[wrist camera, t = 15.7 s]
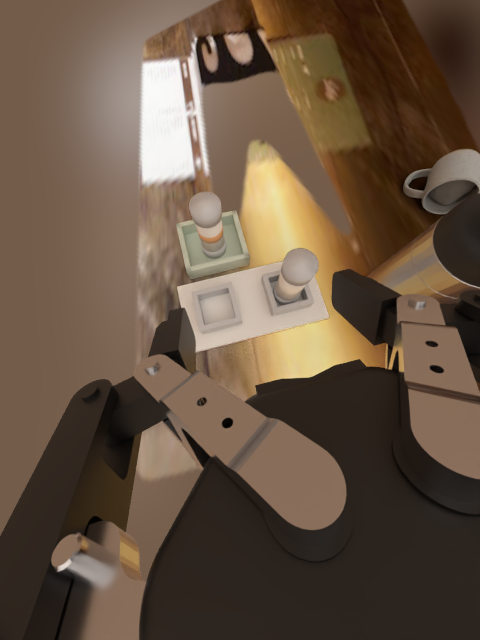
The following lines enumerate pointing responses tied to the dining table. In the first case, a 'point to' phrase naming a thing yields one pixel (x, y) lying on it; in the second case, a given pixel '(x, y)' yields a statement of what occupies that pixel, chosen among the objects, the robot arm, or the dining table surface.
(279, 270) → the fuse board
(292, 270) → the fuse
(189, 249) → the parts tray
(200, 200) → the ball
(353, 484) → the robot arm
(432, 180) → the ceramic mug
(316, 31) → the dining table surface
